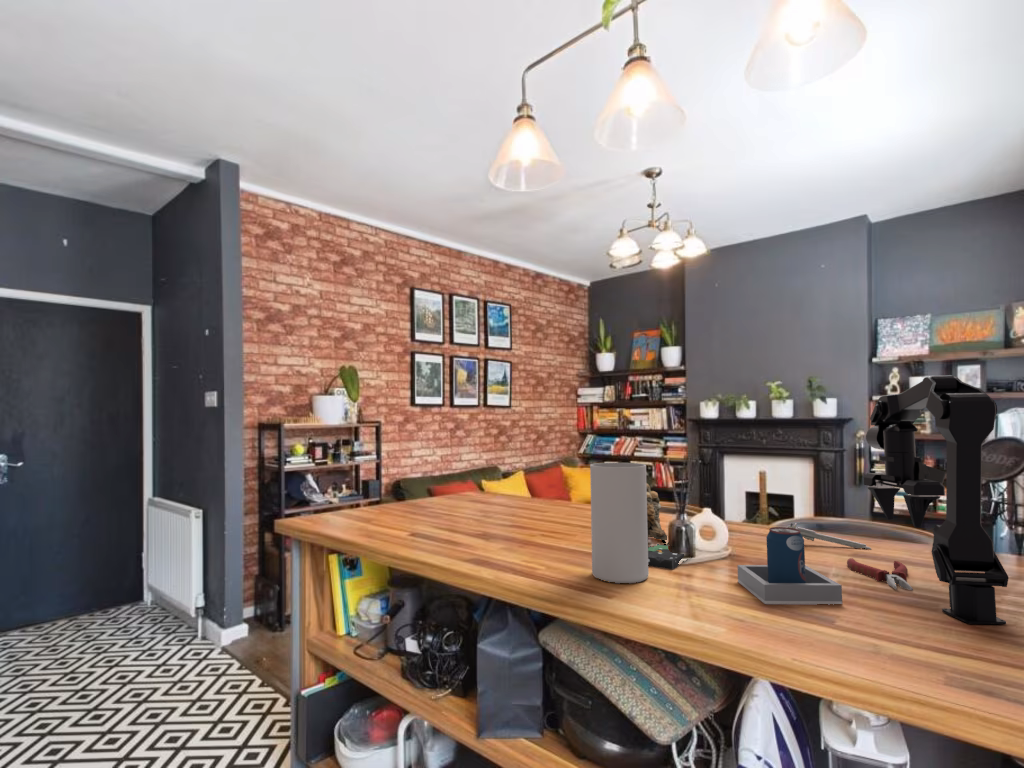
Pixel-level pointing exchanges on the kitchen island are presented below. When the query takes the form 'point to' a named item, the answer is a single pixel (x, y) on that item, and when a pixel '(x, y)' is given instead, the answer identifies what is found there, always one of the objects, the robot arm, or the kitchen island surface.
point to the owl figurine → (654, 515)
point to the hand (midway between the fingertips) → (903, 523)
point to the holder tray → (789, 587)
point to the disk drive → (663, 557)
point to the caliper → (827, 538)
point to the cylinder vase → (619, 522)
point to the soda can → (785, 556)
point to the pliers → (883, 573)
